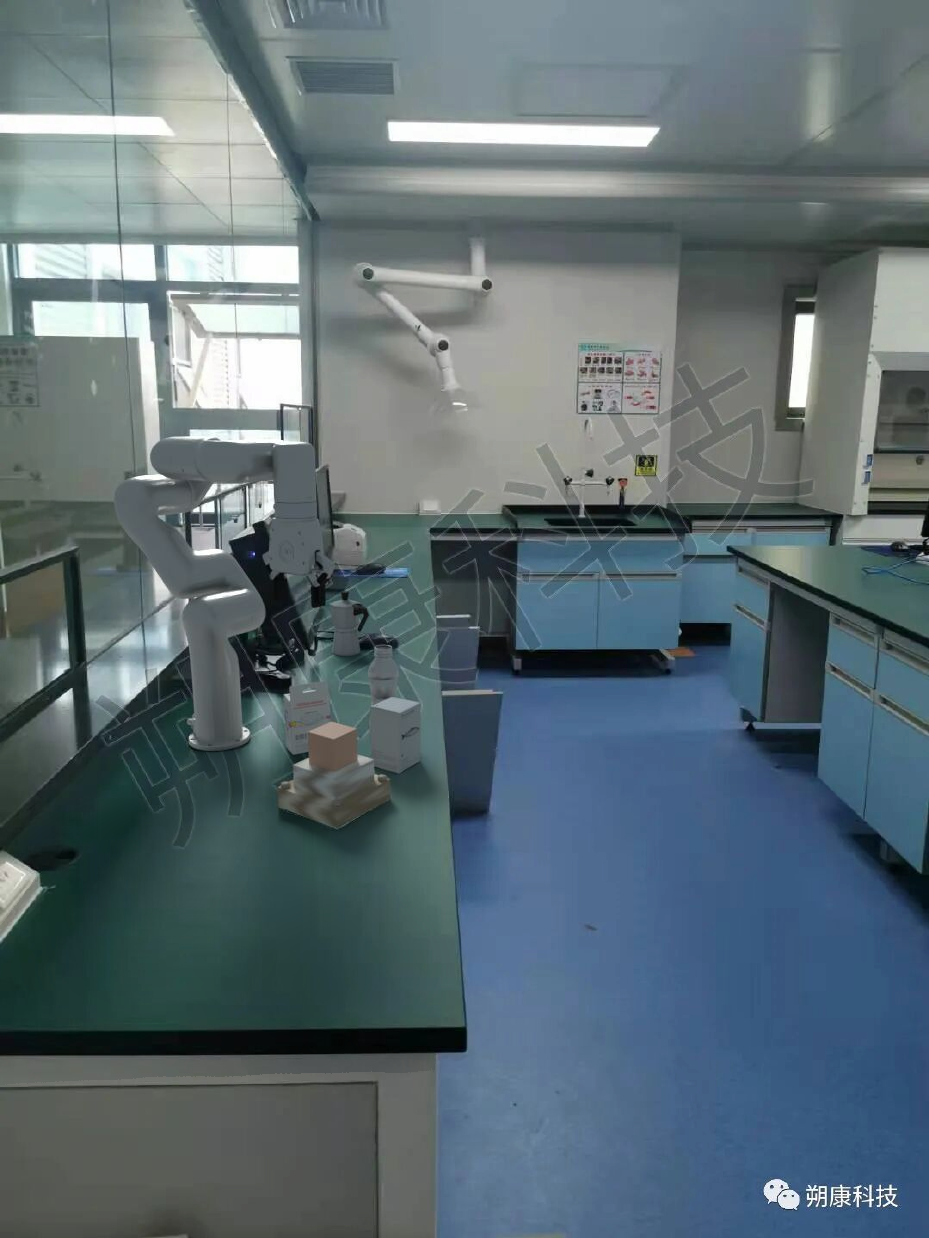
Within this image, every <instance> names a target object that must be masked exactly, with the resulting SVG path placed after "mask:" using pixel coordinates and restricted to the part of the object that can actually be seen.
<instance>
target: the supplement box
mask: <svg viewBox="0 0 929 1238" xmlns="http://www.w3.org/2000/svg"><path fill="white" fill-rule="evenodd" d="M369 714H370V715H369V716H370V717H369V721H370V728H369V731H370V734H369V735H370V737H369V738H370V758H371V759H374V768H379V769H381V770H385V771H388V772H392V773H396V774H401V773H403V772H404V771H405V770H407V769H408V768H411V767H413V766H414V765H416V764H417V763H419V762H421V702H420V701H419V702H418V701H414V700H410V699H404V698H401V697H400V698H399V697H397V698H396V697H390V698H388V699H386V700H384V701H382V702H379V703H377V704H375V705H373V706H369Z"/></svg>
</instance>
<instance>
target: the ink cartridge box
mask: <svg viewBox="0 0 929 1238" xmlns="http://www.w3.org/2000/svg"><path fill="white" fill-rule="evenodd" d="M308 688H310V689H312V690H307V689H308ZM288 690H289V693H284V694H283V712H284V729H285V730H284V732H285V747H286V749H287V750H288V751H289V752H290V754H291V755H293V756H294V755H299V754H305V753H309V749H308V731H311V730H313V729H315V728H318V727H320V726H322V725H325V724H327V723H329V722H332V721H331V720H332V719H331V700H330V699H331V698H330V695H329V684H328V681H327V680H323V681H318V682H316V681H315V682H309V683H302V684H294V685H290V686H289V688H288ZM305 690H306V691H305Z"/></svg>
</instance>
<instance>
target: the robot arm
mask: <svg viewBox="0 0 929 1238" xmlns="http://www.w3.org/2000/svg"><path fill="white" fill-rule="evenodd" d="M149 460H150V464H151V466H152V468H153V469H154V471H155V472H156V473H157V474H151V475H150V474H147V475H138V476H132V477H129V478H127V479H125V480H123V481H122V482H121V483H119V484H118V485H117V486H116V488H115V490H114V495H113V504H114V510H115V514H116V517H117V520H118V522H119V524H120V525H121V528H122V529H123V530H124V532H125V533H126V534H127V536H128V537H129V538H130V539H131V540H132V541H133V543H135V545H137V547H138V548H139V549H140V550H141V551H142V552H143V554H144V555H145V556H146V558H147V560H148V561H149V564H151V567H152V568H153V569H154V571H155V572H156V573H157V575H158V577H159V578H160V580H161V581H162V583H163V584H164V586H165V587H166V589H167V590H168V591H169V592H170V593H171V595H172V596H173V597H174V598H176V599H180V600H187V599H190V600H189V601H188V603H186V605H185V606H184V608H183V609H182V612H181V613H182V614H181V622H182V625H183V629H184V634H185V637H186V641H187V644H188V651H189V659H190V671H191V683H192V684H191V686H192V698H193V699H192V700H193V711H194V713H193V714H192V715H191V717H189V718H187V720H186V723H187V725H189V726H192V729H193V732H192V733H190V735H189V736H188V744H189V746H190V747H191V748H193V749H196V750H199V751H200V750H201V751H205V752H219V751H225V750H226V751H227V750H232V749H235V748H238V747H242V746H243V745H245V744H246V743H248V742H250V741H249V740H251V731H250V729H248V727H245V726H244V725H243V715H242V714H243V713H242V699H241V698H242V697H241V694H242V693H241V682H240V681H241V678H240V677H241V676H240V664H239V657H238V653H236V650H235V648H234V647H233V646H232V644H231V643H230V641H229V638H231V637H233V636H237V635H240V634H244V633H249V632H251V631H254V630H256V629H258V628H259V627H260V626H261V625H262V624H264V622H265V618H266V607H265V606H266V605H265V603H264V601H263V598H262V597H261V595H260V593H259V592H258V590H257V588H256V586H255V585H254V584H253V582H252V581H251V579H250V578H249V577H248V575H247V574H246V573H245V571H244V569H243V568H242V567H241V565H240V564H239V563H238V561H237V560H236V558H235V557H234V556H233V555H232V554H231V553H229V552H227V551H226V550H224V549H221V548H208V549H203V550H202V549H201V550H196V549H193V547H192V546H190V545H189V543H188V542H187V540H186V539H185V537H184V535H183V534H182V533H181V532H180V531H179V530H178V529H176V527H174V526H173V525H172V524H170V523H168V522H166V521H164V520H163V519H161V518H160V517H159V516H165V515H166V516H167V515H176V514H185V513H189V512H191V511H194V510H195V509H196V508H197V507H199V505H200V504H201V503H202V501H203V500H204V498H205V497H206V495H207V494H208V492H209V490H210V489H211V487H212V486H213V484H214V483H222V484H223V483H224V484H226V483H227V484H243V483H244V484H245V483H253V482H254V483H255V482H256V483H257V482H270V481H273V500H274V501H273V502H274V503H273V505H272V508H273V510H274V517H272V519H271V522H270V523H271V524H270V531H269V545H268V547H269V548H268V551H266V552H265V553H263V554H262V559H263V562H264V564H265V569H266V571H267V572H268V574H269V579H270V580H272V594H273V596H272V597H273V601H274V602H279V601H283V600H287V599H288V597H289V591H288V590H289V589H288V588H289V587H288V578H287V577H286V575H287V574H288V575H293V576H300V577H305V576H307V577H308V579H309V580H310V583H312V586H310V601H311V602H310V605H311V608H313V609H317V608H321V607H324V606H326V604H327V601H326V586H327V585H328V584H329V581H330V580H331V579H332V577H333V573H334V570H335V567H336V564H335V562H334V561H333V560H331V559H330V558H329V557H328V556H326V555H325V551H324V542H323V541H324V540H323V532H322V529H321V524H320V523H321V522H320V520H319V519H318V509H317V507H318V505H317V504H318V502H317V477H316V476H317V475H316V450H315V448H314V446H313V444H311V442H306V441H285V440H282V439H276V438H275V439H272V438H271V439H269V438H268V439H261V438H260V439H258V438H257V439H233V440H221V439H220V438H218V437H216V436H203V435H200V436H199V435H195V436H194V435H193V436H170V437H166V438H165V437H164V438H163V439H160V440H159V441H157V442H156V443H155V444H154V445H153V446H152V449H151V450H150V453H149Z"/></svg>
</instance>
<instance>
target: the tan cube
mask: <svg viewBox="0 0 929 1238" xmlns="http://www.w3.org/2000/svg"><path fill="white" fill-rule="evenodd" d="M308 749H309V752H308V758H309V764H311V765H314V766H317V767H321V768H324V769H327V770H330V771H333V772H336V771H338V770H340V769H342V768H344V767H346V766H347V765H349V764H351V763H353V762H355V761H357V760H358V756H357V754H358V729H357V728H356V727H354V726H353V727H352V726H349V725H345V724H341V723H338V722H334V721H331V722H329V723H327V724H325V725H322V726H320V727H318V728H315V729H313V730H311V731H308Z"/></svg>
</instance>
